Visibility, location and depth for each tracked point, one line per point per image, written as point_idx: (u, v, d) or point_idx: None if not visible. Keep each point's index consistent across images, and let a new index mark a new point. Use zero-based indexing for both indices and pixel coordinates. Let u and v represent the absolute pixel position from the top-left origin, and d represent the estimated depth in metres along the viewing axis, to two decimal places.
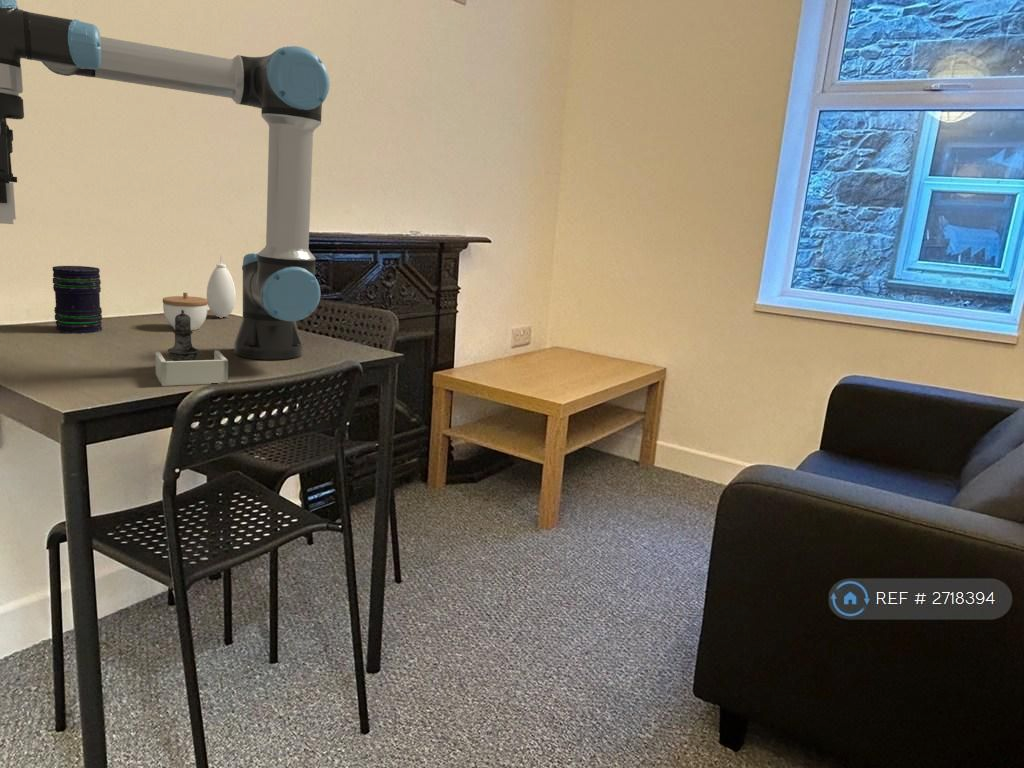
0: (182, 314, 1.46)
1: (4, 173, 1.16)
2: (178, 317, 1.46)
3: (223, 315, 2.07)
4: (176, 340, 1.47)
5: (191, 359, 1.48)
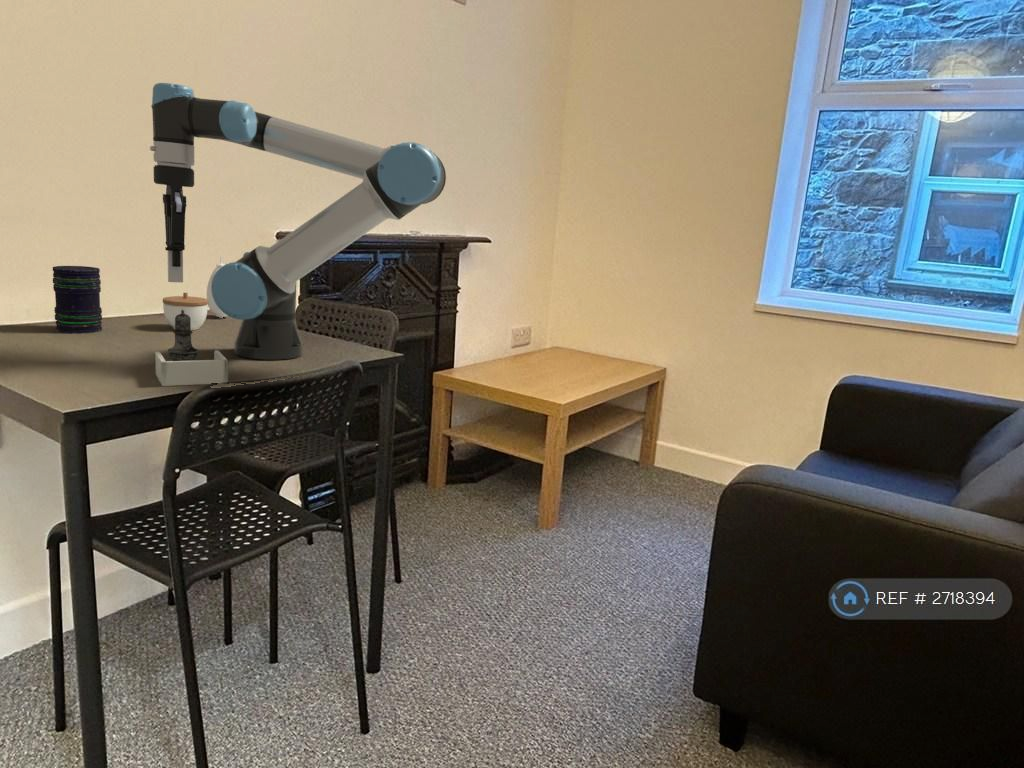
0: (182, 314, 1.46)
1: (181, 244, 1.48)
2: (178, 317, 1.46)
3: (223, 315, 2.07)
4: (176, 340, 1.47)
5: (191, 359, 1.48)
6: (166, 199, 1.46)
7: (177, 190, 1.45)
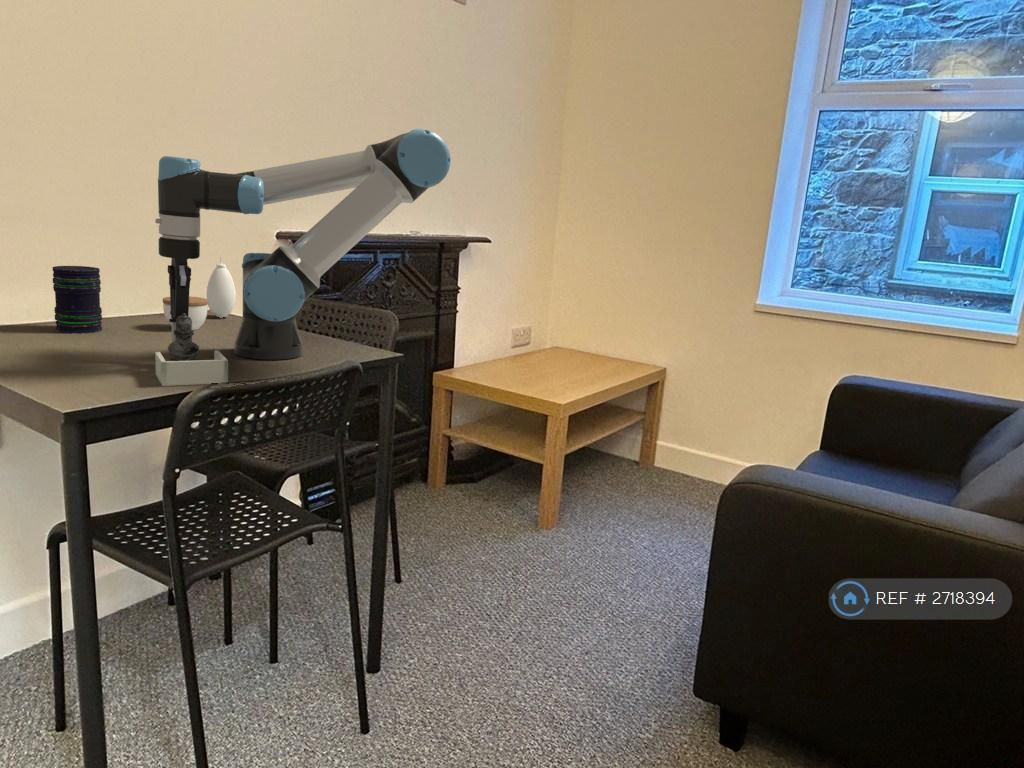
0: (183, 318, 1.42)
1: None
2: (179, 321, 1.42)
3: (223, 315, 2.07)
4: (177, 341, 1.44)
5: (191, 359, 1.47)
6: (171, 272, 1.43)
7: (181, 263, 1.42)
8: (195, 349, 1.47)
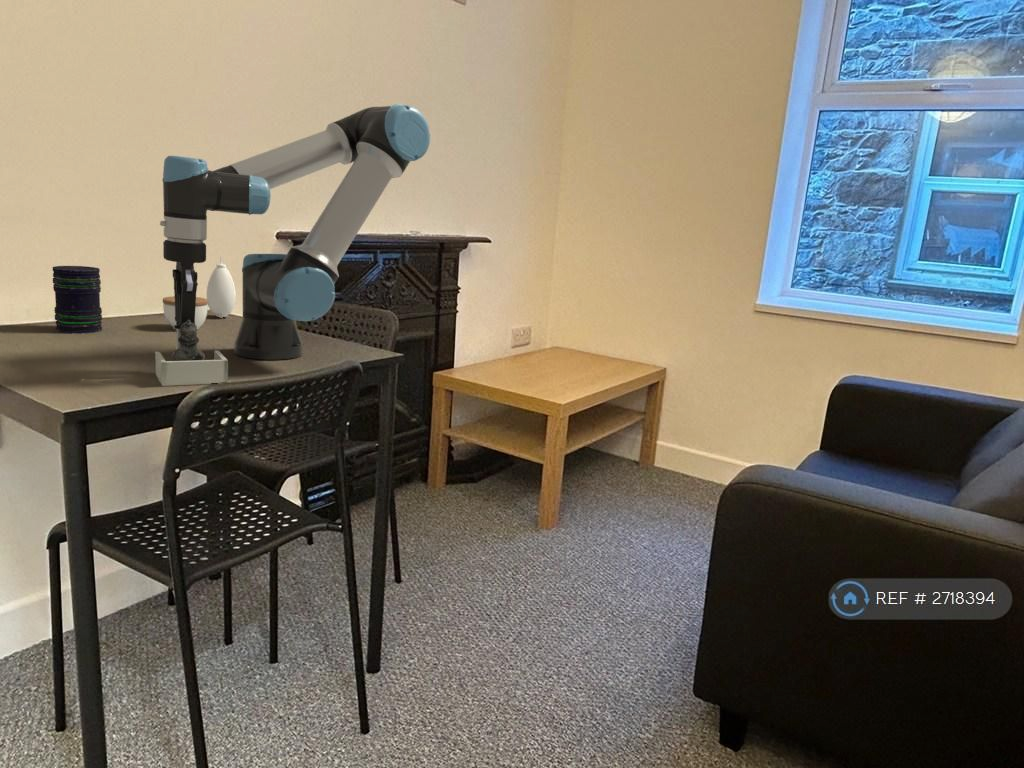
0: (188, 324, 1.36)
1: None
2: (183, 328, 1.36)
3: (223, 315, 2.07)
4: (181, 348, 1.39)
5: None
6: (176, 276, 1.38)
7: (188, 268, 1.36)
8: (200, 357, 1.41)
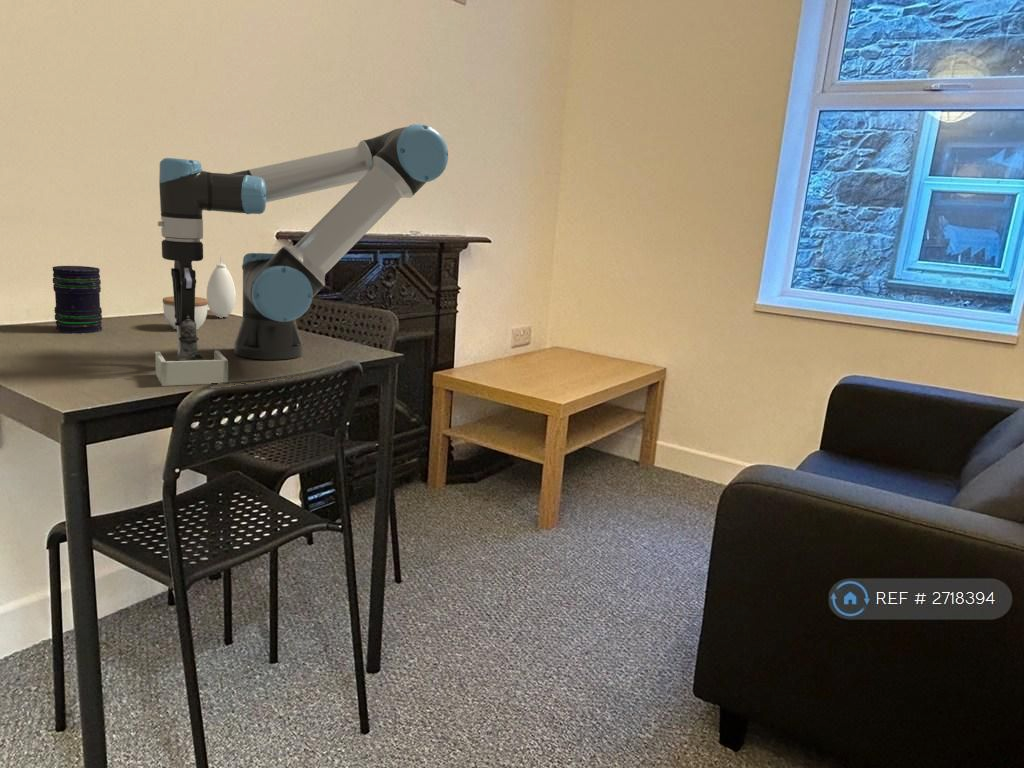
0: (187, 320, 1.40)
1: (191, 319, 1.44)
2: (183, 323, 1.40)
3: (223, 315, 2.07)
4: (181, 347, 1.41)
5: None
6: (175, 274, 1.42)
7: (186, 266, 1.41)
8: (200, 357, 1.42)
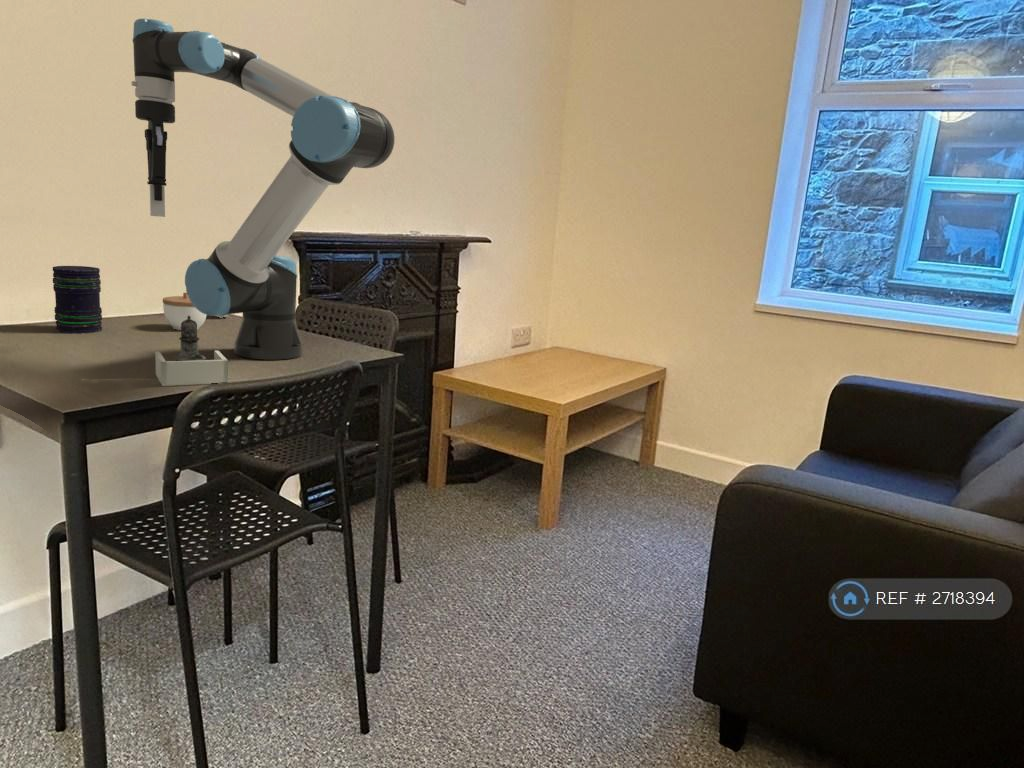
0: (188, 320, 1.40)
1: (162, 178, 1.52)
2: (183, 323, 1.40)
3: None
4: (182, 347, 1.41)
5: None
6: (147, 133, 1.50)
7: (158, 124, 1.49)
8: (201, 357, 1.43)
